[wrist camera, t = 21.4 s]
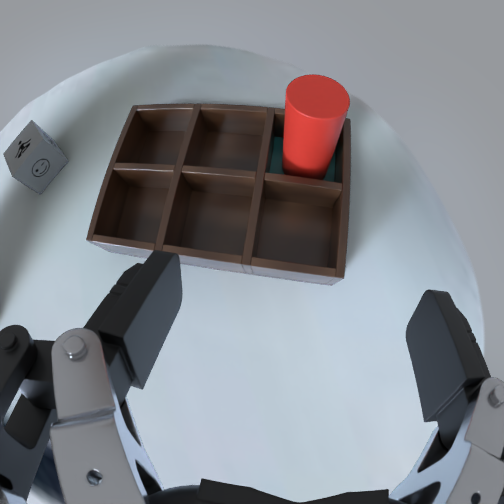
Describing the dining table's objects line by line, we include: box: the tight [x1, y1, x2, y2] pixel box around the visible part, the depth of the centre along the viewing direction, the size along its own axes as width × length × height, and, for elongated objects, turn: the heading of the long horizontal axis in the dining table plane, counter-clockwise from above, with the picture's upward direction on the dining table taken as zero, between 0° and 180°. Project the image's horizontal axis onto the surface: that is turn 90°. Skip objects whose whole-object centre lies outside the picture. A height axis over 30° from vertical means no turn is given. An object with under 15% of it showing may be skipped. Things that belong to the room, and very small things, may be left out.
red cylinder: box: [282, 75, 350, 180], centre depth 20 cm, size 4×4×9 cm
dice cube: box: [4, 120, 68, 194], centre depth 25 cm, size 5×5×5 cm
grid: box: [86, 104, 351, 285], centre depth 23 cm, size 19×13×4 cm
